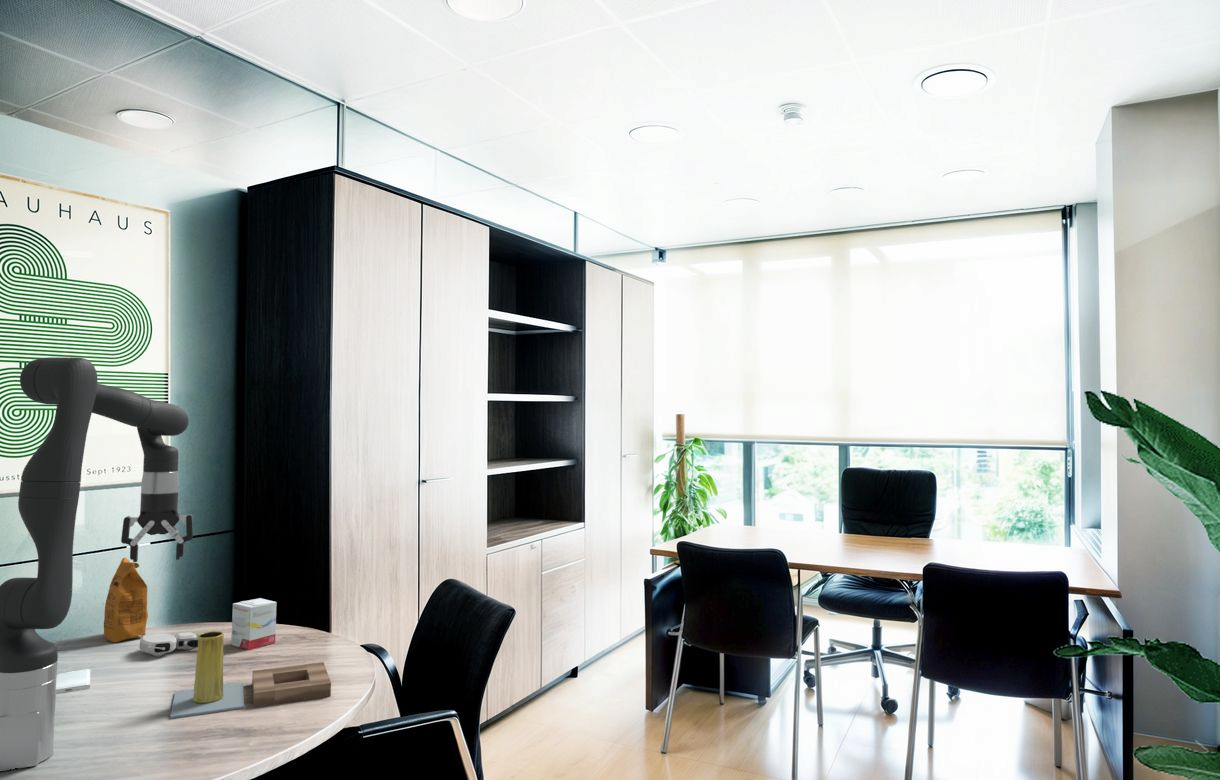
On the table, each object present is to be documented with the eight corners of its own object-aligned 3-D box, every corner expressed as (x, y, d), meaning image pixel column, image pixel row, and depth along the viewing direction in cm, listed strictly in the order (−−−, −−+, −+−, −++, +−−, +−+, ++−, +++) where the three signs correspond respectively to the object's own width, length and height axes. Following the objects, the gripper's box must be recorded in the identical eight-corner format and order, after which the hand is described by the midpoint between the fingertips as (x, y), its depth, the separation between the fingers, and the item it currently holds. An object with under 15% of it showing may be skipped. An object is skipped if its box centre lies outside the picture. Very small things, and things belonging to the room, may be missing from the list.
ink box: (276, 643, 211) (277, 600, 211) (248, 650, 203) (249, 606, 204) (258, 637, 215) (259, 596, 216) (229, 645, 208) (231, 602, 208)
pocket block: (330, 695, 172) (331, 682, 172) (253, 706, 164) (254, 693, 164) (323, 674, 186) (323, 662, 186) (252, 683, 179) (252, 670, 179)
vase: (216, 691, 172) (218, 629, 172) (228, 698, 168) (230, 634, 168) (188, 698, 167) (190, 634, 168) (199, 705, 163) (202, 640, 164)
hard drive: (49, 674, 179) (46, 690, 169) (90, 668, 184) (90, 683, 174) (48, 681, 179) (46, 697, 169) (90, 675, 184) (90, 690, 174)
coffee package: (139, 629, 222) (142, 554, 223) (149, 638, 213) (152, 560, 214) (99, 635, 215) (102, 558, 216) (108, 645, 206) (111, 565, 207)
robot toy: (195, 644, 212) (133, 650, 201) (197, 627, 212) (136, 633, 202) (207, 654, 203) (143, 661, 192) (209, 637, 203) (146, 643, 193)
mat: (243, 708, 163) (243, 706, 163) (169, 718, 157) (170, 716, 157) (242, 684, 178) (242, 682, 178) (175, 693, 171) (175, 691, 171)
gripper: (121, 493, 168) (118, 565, 167) (193, 491, 174) (191, 561, 174) (126, 490, 175) (123, 559, 174) (195, 488, 181) (192, 555, 180)
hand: (157, 560), depth 174 cm, fingers open, 8 cm apart
